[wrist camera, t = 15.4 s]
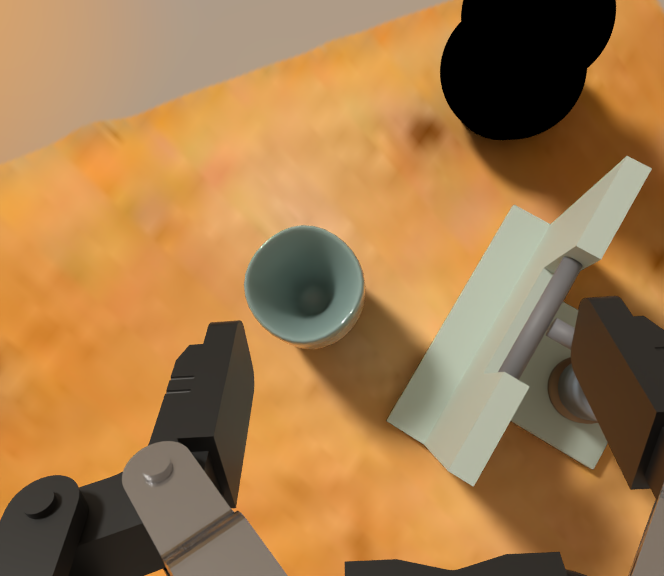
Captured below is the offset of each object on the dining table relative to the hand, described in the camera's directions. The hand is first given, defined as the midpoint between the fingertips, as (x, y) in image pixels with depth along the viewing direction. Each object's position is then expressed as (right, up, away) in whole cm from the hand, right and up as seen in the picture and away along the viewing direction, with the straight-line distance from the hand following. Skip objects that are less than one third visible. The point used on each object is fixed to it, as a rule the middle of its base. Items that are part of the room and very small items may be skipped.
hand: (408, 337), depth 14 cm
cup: (-3, 0, +34) cm, 34 cm away
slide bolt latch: (+14, -5, +31) cm, 35 cm away
